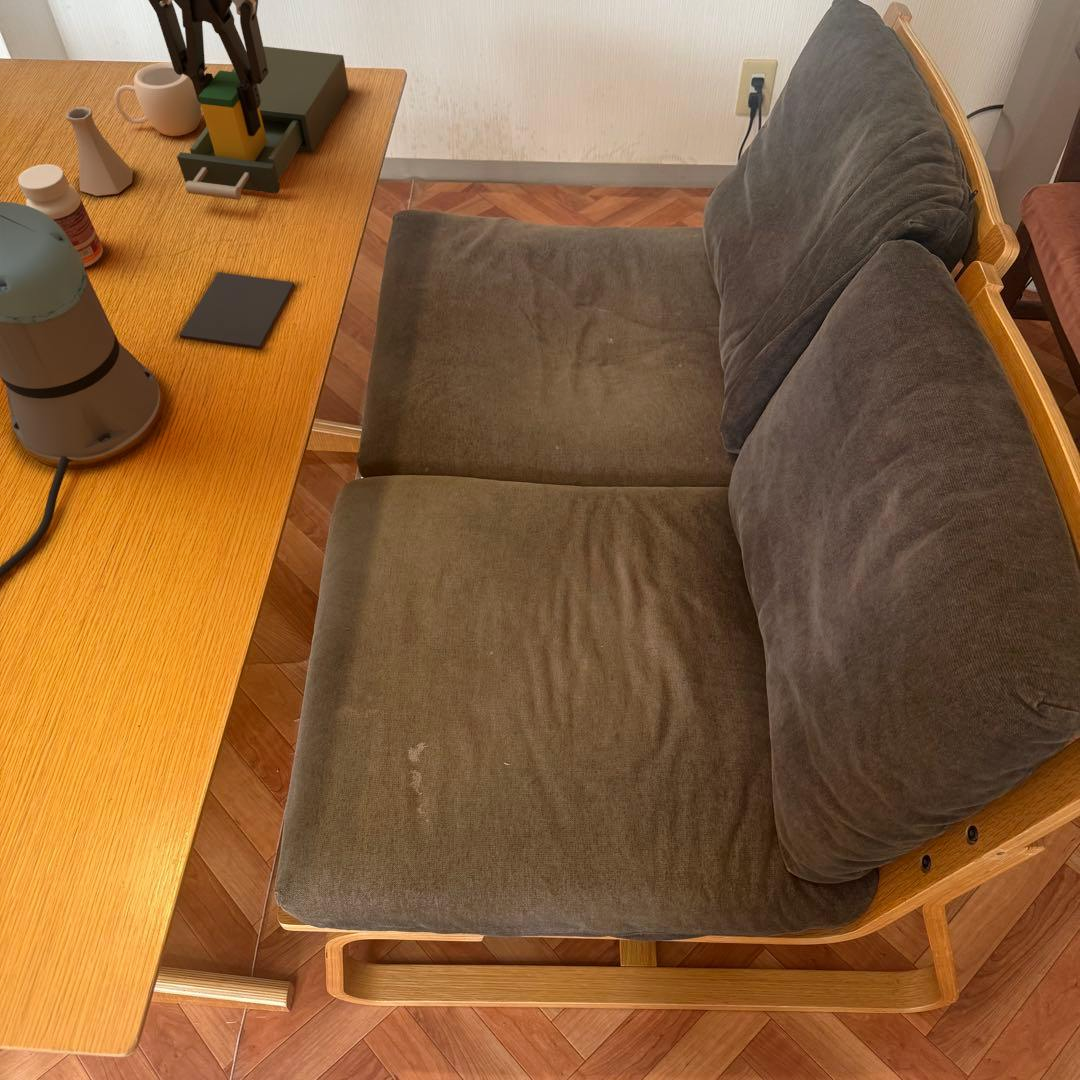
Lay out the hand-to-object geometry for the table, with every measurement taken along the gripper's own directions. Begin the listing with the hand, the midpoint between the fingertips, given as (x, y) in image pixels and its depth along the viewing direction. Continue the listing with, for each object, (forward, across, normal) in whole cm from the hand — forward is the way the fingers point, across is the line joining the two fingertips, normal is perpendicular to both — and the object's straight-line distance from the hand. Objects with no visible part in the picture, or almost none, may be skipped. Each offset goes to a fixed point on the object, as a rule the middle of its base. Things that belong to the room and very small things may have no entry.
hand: (236, 128), depth 122 cm
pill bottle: (+7, +14, +23) cm, 28 cm away
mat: (+6, -10, +29) cm, 31 cm away
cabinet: (+6, 0, -15) cm, 16 cm away
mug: (+6, +16, -8) cm, 19 cm away
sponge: (+4, 0, 0) cm, 4 cm away
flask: (+7, +18, +7) cm, 20 cm away
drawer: (+5, 0, 0) cm, 5 cm away
